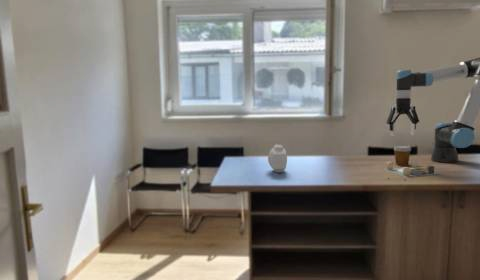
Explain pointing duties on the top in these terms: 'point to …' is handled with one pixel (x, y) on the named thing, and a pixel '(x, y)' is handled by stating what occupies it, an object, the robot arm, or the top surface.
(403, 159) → the disposable coffee cup
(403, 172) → the board
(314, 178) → the top surface
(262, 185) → the top surface
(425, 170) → the stool leg
